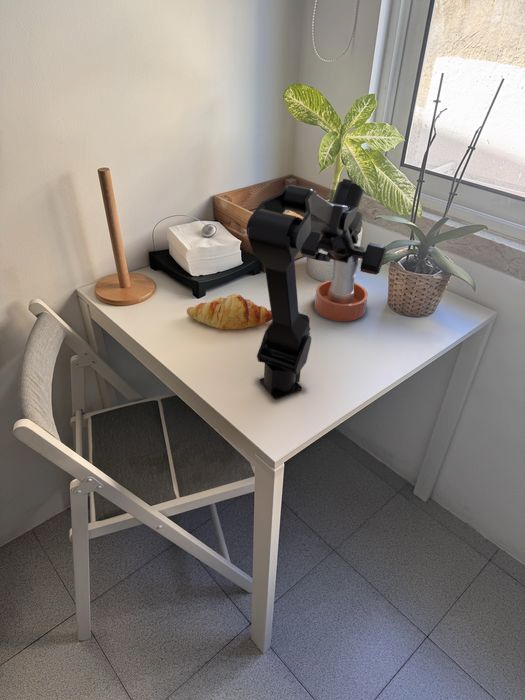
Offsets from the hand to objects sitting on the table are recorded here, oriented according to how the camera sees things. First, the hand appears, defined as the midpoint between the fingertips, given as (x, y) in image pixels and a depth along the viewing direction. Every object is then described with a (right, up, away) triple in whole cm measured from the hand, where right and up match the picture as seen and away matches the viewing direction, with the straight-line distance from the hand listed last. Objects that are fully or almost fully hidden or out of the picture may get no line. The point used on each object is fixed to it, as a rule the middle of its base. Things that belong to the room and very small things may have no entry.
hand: (347, 264), depth 122 cm
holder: (-1, -10, +6) cm, 12 cm away
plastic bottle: (-1, -10, +5) cm, 11 cm away
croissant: (-28, -14, 0) cm, 31 cm away
